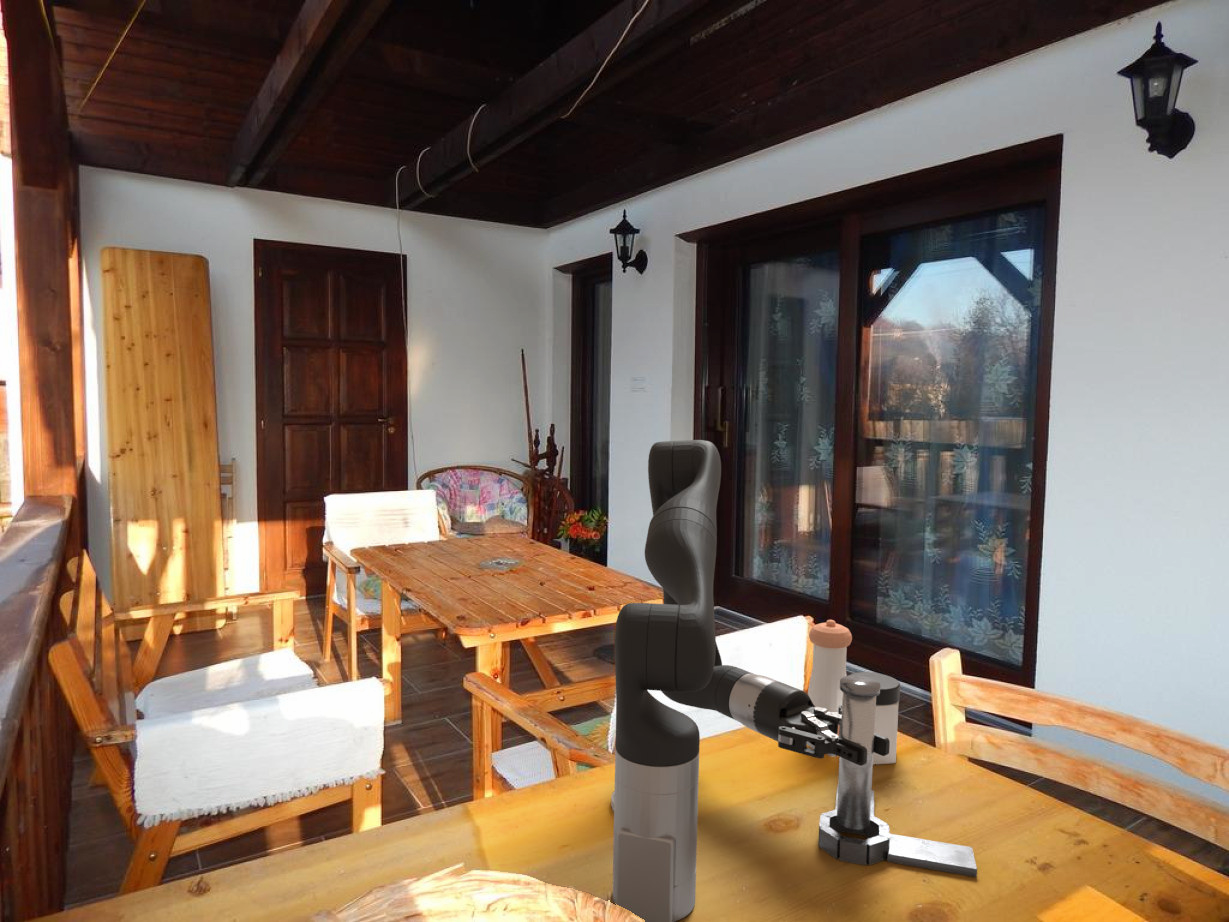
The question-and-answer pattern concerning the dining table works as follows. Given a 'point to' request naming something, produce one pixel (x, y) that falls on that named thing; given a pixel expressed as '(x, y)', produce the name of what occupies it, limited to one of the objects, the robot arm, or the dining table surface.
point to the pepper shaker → (828, 664)
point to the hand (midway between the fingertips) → (876, 752)
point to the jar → (885, 713)
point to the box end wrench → (891, 846)
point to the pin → (861, 731)
